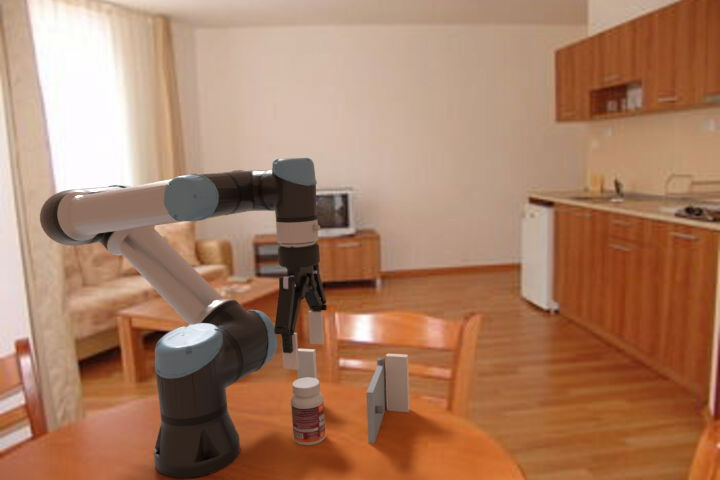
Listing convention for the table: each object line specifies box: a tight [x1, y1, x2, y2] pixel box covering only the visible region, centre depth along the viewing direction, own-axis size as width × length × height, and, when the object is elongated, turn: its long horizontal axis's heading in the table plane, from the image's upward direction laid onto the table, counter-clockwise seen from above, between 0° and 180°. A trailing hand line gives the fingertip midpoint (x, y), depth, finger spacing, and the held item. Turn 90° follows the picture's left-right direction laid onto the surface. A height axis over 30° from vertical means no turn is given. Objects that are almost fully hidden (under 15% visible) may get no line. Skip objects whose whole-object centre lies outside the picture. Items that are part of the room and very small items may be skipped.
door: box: [365, 357, 388, 444], centre depth 112 cm, size 15×3×11 cm, turn 169°
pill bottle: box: [290, 377, 326, 446], centre depth 108 cm, size 6×6×11 cm
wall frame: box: [296, 348, 411, 413], centre depth 121 cm, size 24×2×12 cm, turn 75°
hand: (304, 355), depth 106 cm, fingers open, 13 cm apart
